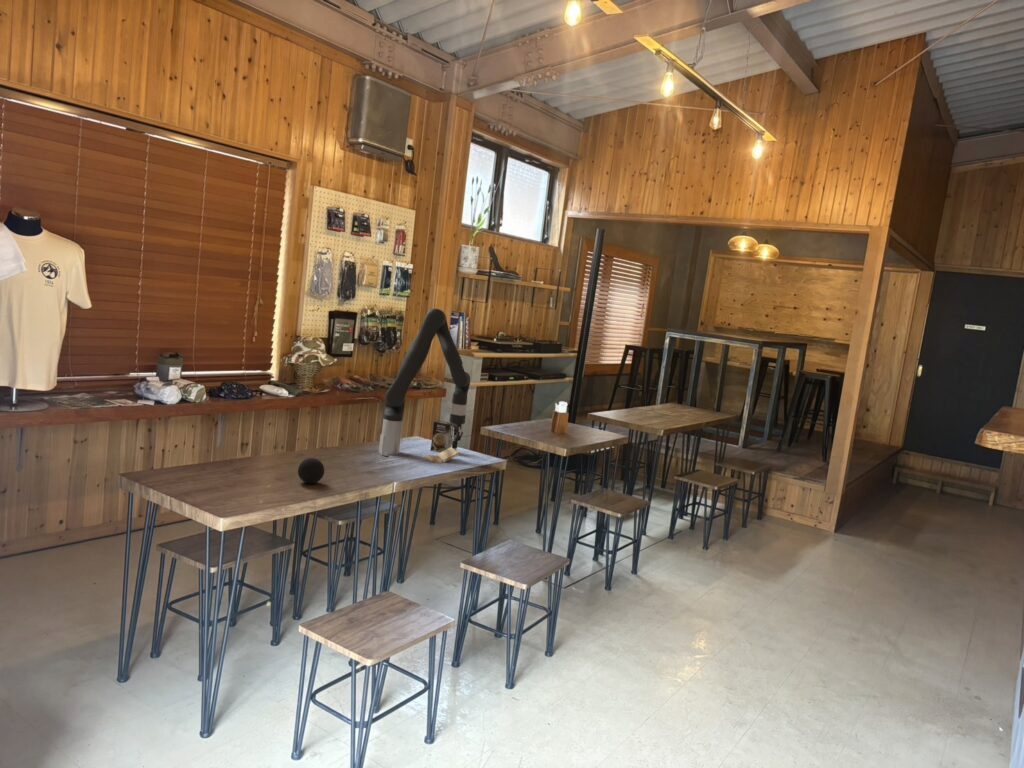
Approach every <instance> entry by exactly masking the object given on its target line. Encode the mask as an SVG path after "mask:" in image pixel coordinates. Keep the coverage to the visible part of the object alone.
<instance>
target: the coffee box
mask: <svg viewBox="0 0 1024 768" xmlns="http://www.w3.org/2000/svg"><path fill="white" fill-rule="evenodd" d="M450 427H452V423H451V422H450V421H449V422H448V421H444V420H434V421H433V425H432V434H431V444H430V452H436V453H441V452H443V451H445V450H447V449H448V448H450V447H452V441H453V440H452V438H451V434H450Z"/></svg>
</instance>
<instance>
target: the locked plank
mask: <svg viewBox="0 0 1024 768" xmlns="http://www.w3.org/2000/svg"><path fill="white" fill-rule="evenodd" d="M424 458H425V459H426V460H428V461H429V462H430V463H432V464H433V463H437V464H439V463H440V464H443V463H444V462H442V460H440V459H439V458H438V457H437V456H436V455H434V454H433V455H431V454H424Z"/></svg>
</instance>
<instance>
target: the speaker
mask: <svg viewBox="0 0 1024 768" xmlns="http://www.w3.org/2000/svg"><path fill="white" fill-rule="evenodd" d="M297 468H298V469H297V475H298V478H299V479H300V480H301V481H302V482H303V483H306V484H311V485H312V484H316V483H318V482H319V481H321V480H322V478H323V477H324V474H325V467H324V464H323V462H321V460H319V459H317V458H314V457H309V458H305V459H304V460H302V461H301V463H299V465H298V467H297Z"/></svg>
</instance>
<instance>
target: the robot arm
mask: <svg viewBox="0 0 1024 768" xmlns="http://www.w3.org/2000/svg"><path fill="white" fill-rule="evenodd" d="M435 336H437V339H438V341H439V344H440V347H441V350H442V353H443V356H444V360H445V361H446V363H447V366H448V367H449V368H448V369H449V371H450V376H451V379H452V381H453V383H454V385H455V386H454V387H455V388H454V391H453V393H452V394H453V395H452V401H451V405H450V406H451V407H450V414H449V423H452V427H450V434H451V438H452V445H451V447H452V448H453V449H456V450H458V442H460V441H461V439H462V436H463V434H464V432H463V431H462V425H464V424H466V416H467V404H468V393H469V389H470V385H471V384H470V383H471V375H470V374H469V373H468V372H466V371H465V369H464V367H463V364H464V363H463V360H462V358H461V355H460V353H459V351H458V349H457V346H456V344H455V341H454V340H453V337H452V334H451V332H450V328H449V325H448V320H447V315H446V313H445V312H444V311H443V310H442V309H440V308H432V309H431V308H430V310H428V311H427V313H426V315H425V317H424V319H423V322H422V324H421V326H420V329H419V331H418V333H417V335H416V336H415V338H414V340H413V341H412V343H411V345H410V346H409V348H408V349H407V352H406V354H405V355H404V357H403V360H402V363H401V365H400V368H399V370H398V373H397V375H396V377H395V379H394V380H393V382H392V384H391V386H390V387H389V389H387V391H386V392H385V395H384V396H385V398H384V399H385V404H384V412H383V416H382V417H383V419H382V428H381V429H382V430H381V433H380V436H379V444H378V445H379V447H378V454H380V455H381V456H386V457H389V455H391V456H392V455H399V454H400V449H401V438H402V429H403V421H404V413H405V406H406V405H405V404H406V396H407V392H408V390H409V388H410V386H411V384H412V382H413V381H414V379H415V378H416V377H417V375H418V374H419V371H420V370H421V368H422V367H423V365H424V363H425V361H426V359H427V357H428V354H429V352H430V349H431V345H432V342H433V340H434V338H435Z"/></svg>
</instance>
